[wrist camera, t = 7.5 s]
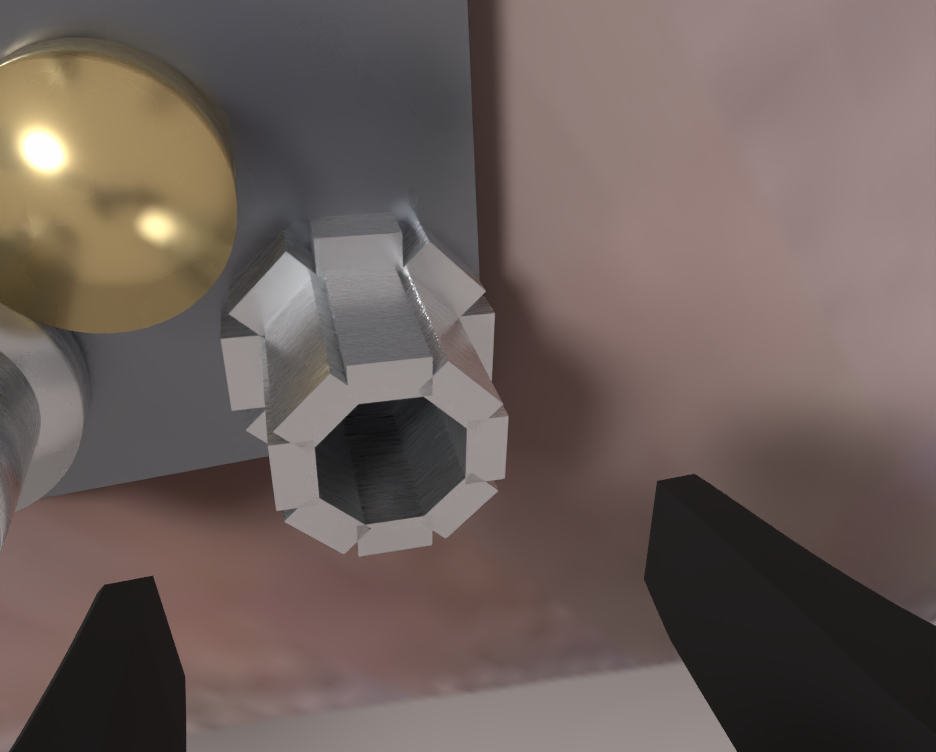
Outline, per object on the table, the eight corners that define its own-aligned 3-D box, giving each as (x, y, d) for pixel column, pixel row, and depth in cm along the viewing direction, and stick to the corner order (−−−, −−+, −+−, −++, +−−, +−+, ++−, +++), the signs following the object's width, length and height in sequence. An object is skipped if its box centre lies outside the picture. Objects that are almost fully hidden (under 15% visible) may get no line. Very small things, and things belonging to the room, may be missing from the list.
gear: (241, 453, 20) (245, 604, 16) (207, 223, 17) (200, 337, 13) (476, 425, 21) (535, 556, 17) (484, 206, 18) (559, 304, 14)
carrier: (-127, 499, 20) (-202, 634, 16) (-592, -301, 12) (-939, -373, 8) (474, 391, 22) (519, 486, 19) (436, -318, 14) (504, -379, 11)
